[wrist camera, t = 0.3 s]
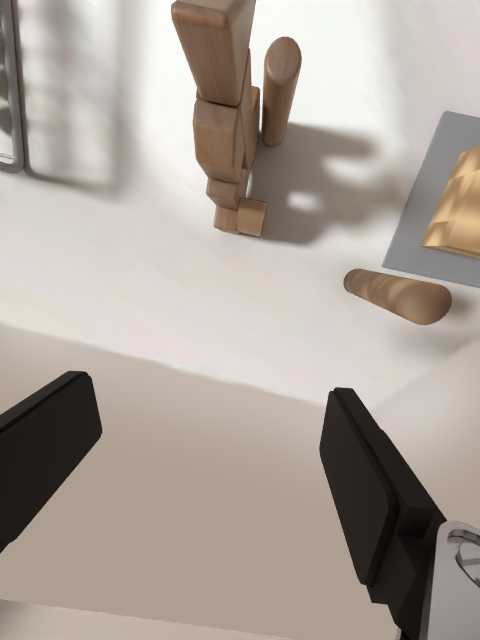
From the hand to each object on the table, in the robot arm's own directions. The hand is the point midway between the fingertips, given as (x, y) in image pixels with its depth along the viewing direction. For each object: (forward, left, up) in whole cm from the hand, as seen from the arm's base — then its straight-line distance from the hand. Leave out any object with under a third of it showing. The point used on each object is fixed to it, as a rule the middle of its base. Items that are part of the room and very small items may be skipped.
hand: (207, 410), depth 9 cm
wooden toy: (-16, -2, -31) cm, 35 cm away
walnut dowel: (-5, +18, -31) cm, 36 cm away
